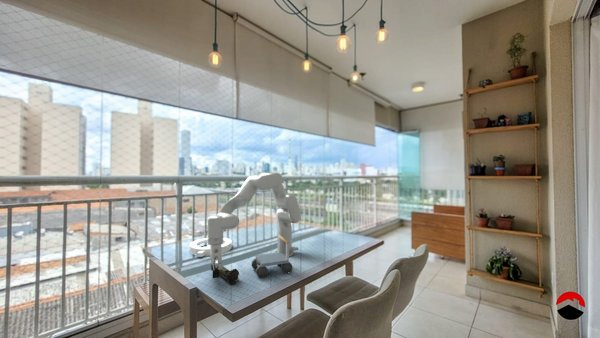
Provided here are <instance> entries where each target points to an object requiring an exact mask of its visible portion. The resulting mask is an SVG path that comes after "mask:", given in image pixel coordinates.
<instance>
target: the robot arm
mask: <svg viewBox="0 0 600 338" xmlns="http://www.w3.org/2000/svg"><path fill="white" fill-rule="evenodd" d="M283 181H284V180H283V176H282V175H281V174H280V173H279V172H267V171H266V172H265V171H264V172H260V173H259V174H257V175H256V174H252V175H251V174H250V175H249V176H248V177H247V178H246V180H245V181H244V182H243V184H242V185H241V187H240V189H239V190H238V192H237V193H236V194H235V195H234V196H233V197H231V198H230V199H228V200H227V202H225V203H224V204H223V206H221V208H220V210H218V212H217V214H216V215H211V216H209V217H207V218H208V219H207V238H208V245H210V256H209V257H210V263H211V264H210V265H211V266H210V270H211V272H212V277H211V278H212V279H216V278H220V275H219V266H220V265H222V263H223V261H222V258H223V257H222V255H223V253H222V248H221V244H222V243H223V238H224V230H231V229H232V230H233V229H235V228H237V227H238V225H240V218H239V217H238V215H235V214H233V213H234V211H235V210H237V209H239V208H240V207H241V208H242V207H243V206H246V205H247V204H249V203H250V202H251V201H252V198H253V197H254V196H255V194H256V193H257V191H266V190H270V193H271V195H272V198H273V201H274V204H275V206H276V207H279V208H278V209H277V210H276V221H277V249H276V251H274V253H276V252H279V235H281V236H282V237H283V238H284V239H286V240H287V241H288V242H289V257H292V256H293V255H294V254H295V251H299V247H295V246H293V245H292V243H293V241H292V240H293V238H292V235H293V232H292V231H293V228H292V224H297V223H300V220H301V216H302V212H301V207H300V206H299V202H298V198H297V197H296V196H295V194H292V193H287V192H286V190H285V188H284V185H283ZM281 253H282V254H283V255H284V256H285V257H286V243H285V242H284V241H283V240H282V239H281Z"/></svg>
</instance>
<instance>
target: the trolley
mask: <svg viewBox="0 0 600 338" xmlns="http://www.w3.org/2000/svg"><path fill="white" fill-rule="evenodd" d="M281 239H282V240H283V241H284V242H285V243H286V257H285V256H284V255H283V254H282V253H281ZM275 252H276V251H275ZM275 252H270V253H263V254H256V255H255V258H253V259H252V260H251V268H253V270H255V274H256V276H257V277H258V278H259V279H264V278H266V277H267V276H268V273H269V269H268V267H271V266H278V267H280V270H281V271H282V273H284V274H285V273H288V272H290V273H291V272H292V270H293V264H292V263H291V261H290V260H289V257H290V256H289V242H288V241H287V240H286V239H284V238H283V237H282V236H281V235H279V252H276V253H275ZM288 274H289V273H288Z"/></svg>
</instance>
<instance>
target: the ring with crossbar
mask: <svg viewBox="0 0 600 338" xmlns="http://www.w3.org/2000/svg"><path fill="white" fill-rule="evenodd" d="M232 241H233V240H232V239H230V238H228V237H223V243H222V244H221V248H222V254H225V253H228V252H230V250H231V249H232V248H233V247H232V245H233V244H232ZM202 243H208V237H205V238H199V239H195V240H194V241H192V242H190V243H189V252H190V251H191V252H192V253H193V254H196V255H195V256H196V258H198V257H199V258H202V257H208V256H209V257H210V245H207V246H203V247H199V246H198V245H200V244H202ZM193 254H192V255H193Z"/></svg>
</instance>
